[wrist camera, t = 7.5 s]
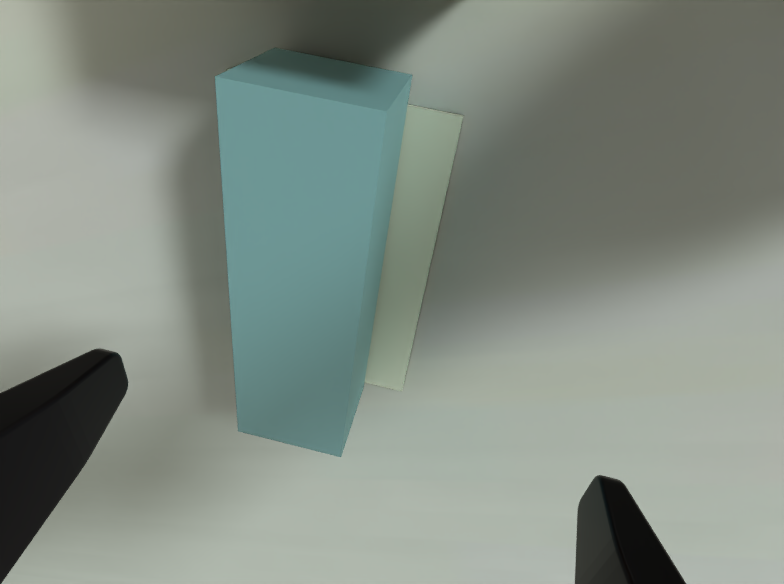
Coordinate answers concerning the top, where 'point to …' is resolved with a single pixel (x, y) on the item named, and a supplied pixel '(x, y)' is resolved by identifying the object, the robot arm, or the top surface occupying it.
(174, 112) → the top surface
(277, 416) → the bar
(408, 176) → the pad
